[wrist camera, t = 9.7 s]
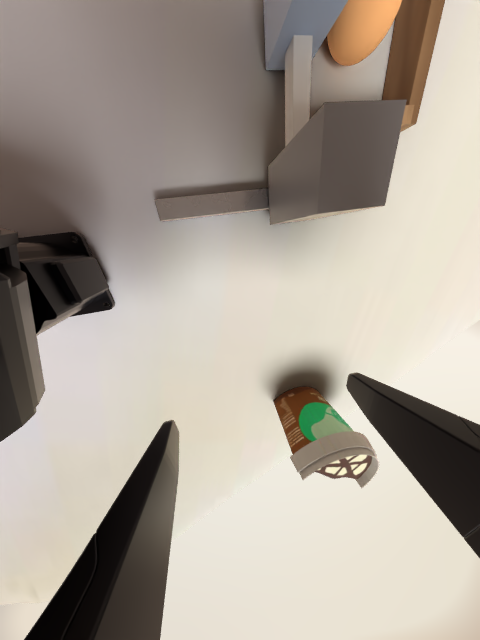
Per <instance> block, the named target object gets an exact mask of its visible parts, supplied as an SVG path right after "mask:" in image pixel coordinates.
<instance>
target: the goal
mask: <svg viewBox="0 0 480 640" xmlns="http://www.w3.org/2000/svg"><path fill="white" fill-rule="evenodd" d="M444 3H445V0H402V2H401V5H400V8H399V10H398V12H397V15H396V19H395V25H394V31H393V37H392V43H391V49H390V56H389V62H388V68H387V74H386V80H385V86H384V92H383V98H382V100H407V101H406V106H405V111H404V115H403V120H402V125H401V130H400V132H401V131H403V130H405V129H407V128H409V127H411V126H412V125H414V124H416V122H417V118H418V113H419V109H420V105H421V101H422V96H423V92H424V88H425V84H426V79H427V75H428V71H429V67H430V62H431V58H432V54H433V49H434V45H435V41H436V37H437V32H438V28H439V24H440V20H441V15H442V11H443V7H444Z"/></svg>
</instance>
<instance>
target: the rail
mask: <svg viewBox="0 0 480 640" xmlns="http://www.w3.org/2000/svg"><path fill="white" fill-rule="evenodd" d="M154 200H155V203H156V207H157V210H158V214H159V218H160V221H163V222H164V221H173V220H182V219H190V218H199V217H207V216H216V215H225V214H233V213H242V212H251V211H259V210H268V209H269V188H264V189H254V190H244V191H233V192H223V193H213V194H203V195H193V196H183V197H173V198H163V199H154Z"/></svg>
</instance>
